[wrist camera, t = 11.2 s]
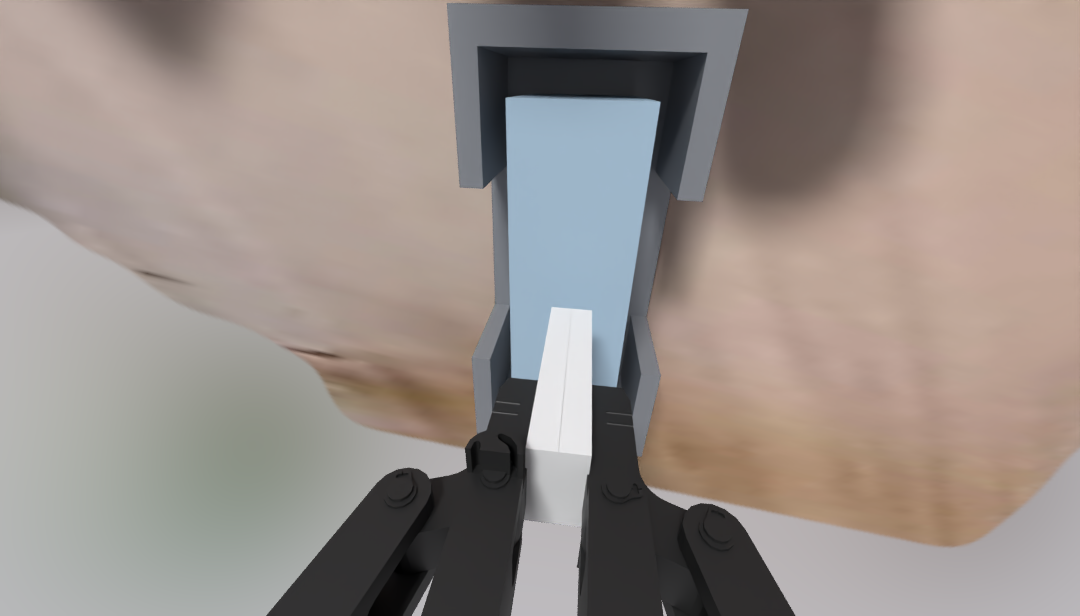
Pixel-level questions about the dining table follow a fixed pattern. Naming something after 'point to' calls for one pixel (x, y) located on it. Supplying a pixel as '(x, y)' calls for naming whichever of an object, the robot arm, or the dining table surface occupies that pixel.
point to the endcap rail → (590, 69)
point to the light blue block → (575, 217)
